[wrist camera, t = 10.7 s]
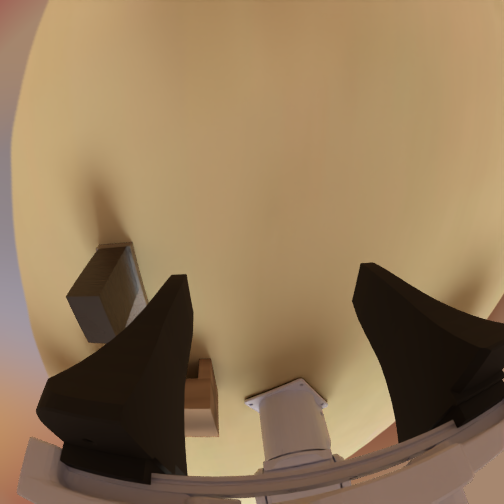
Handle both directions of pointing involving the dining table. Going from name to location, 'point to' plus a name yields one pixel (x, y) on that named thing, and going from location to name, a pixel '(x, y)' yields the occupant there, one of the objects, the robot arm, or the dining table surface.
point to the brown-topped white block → (108, 292)
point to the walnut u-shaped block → (201, 403)
